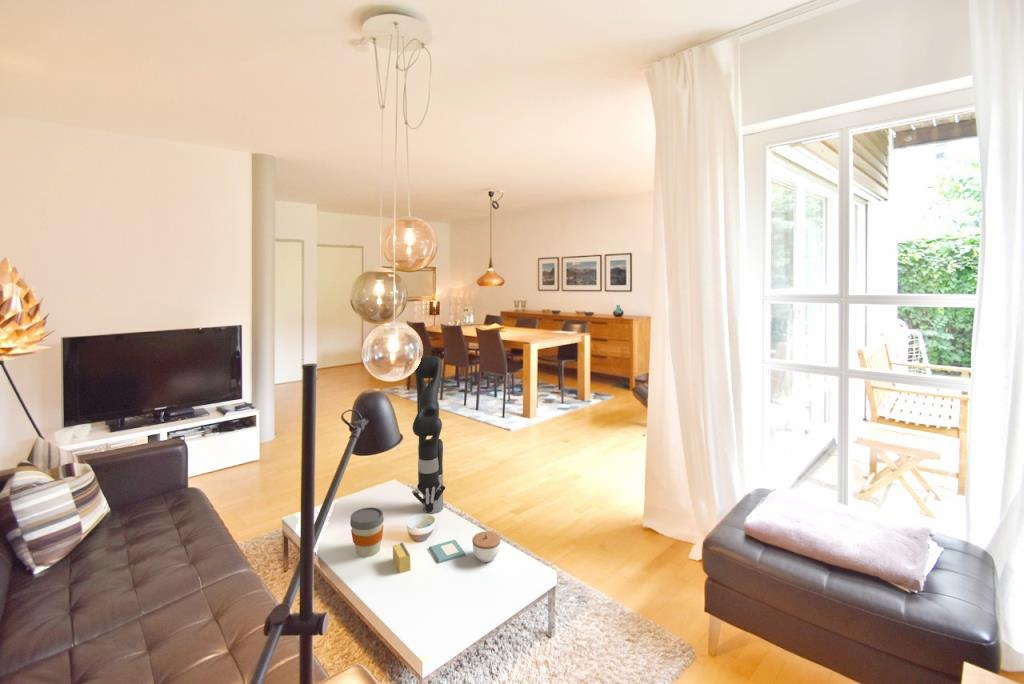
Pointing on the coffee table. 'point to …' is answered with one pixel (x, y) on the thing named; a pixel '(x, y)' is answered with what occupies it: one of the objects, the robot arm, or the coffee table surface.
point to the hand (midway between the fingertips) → (429, 511)
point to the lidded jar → (486, 545)
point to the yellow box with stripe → (401, 557)
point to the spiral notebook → (447, 551)
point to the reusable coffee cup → (367, 531)
